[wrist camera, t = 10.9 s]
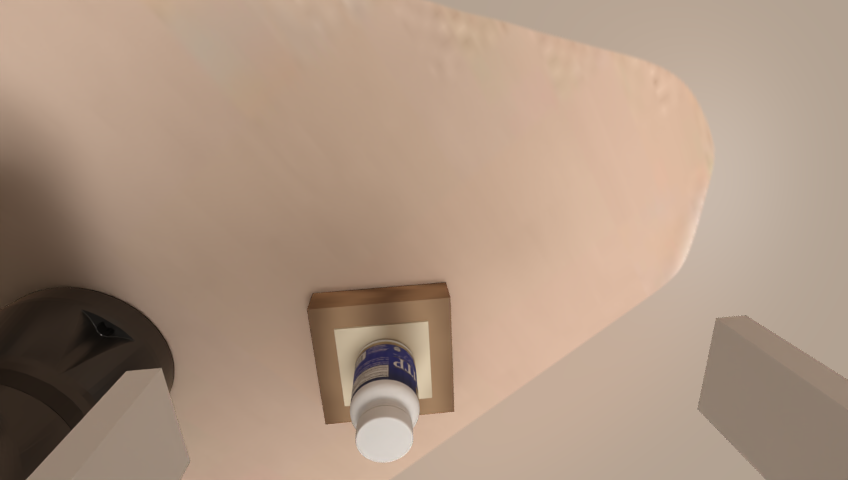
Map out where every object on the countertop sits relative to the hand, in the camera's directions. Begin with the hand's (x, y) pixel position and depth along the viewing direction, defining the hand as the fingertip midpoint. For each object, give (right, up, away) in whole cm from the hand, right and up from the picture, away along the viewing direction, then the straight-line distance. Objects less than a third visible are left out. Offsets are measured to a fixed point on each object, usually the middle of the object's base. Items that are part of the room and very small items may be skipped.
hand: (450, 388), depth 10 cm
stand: (-4, -6, +30) cm, 31 cm away
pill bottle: (-4, -7, +27) cm, 29 cm away
